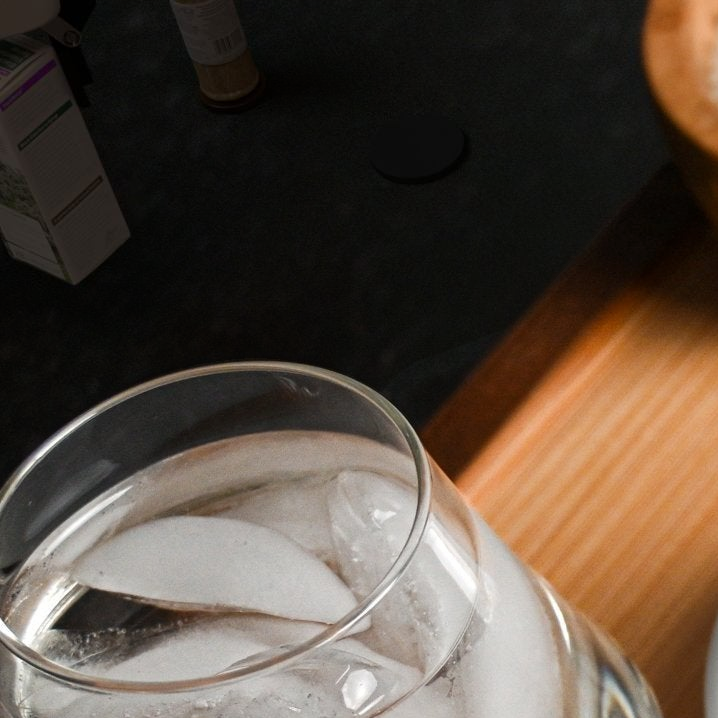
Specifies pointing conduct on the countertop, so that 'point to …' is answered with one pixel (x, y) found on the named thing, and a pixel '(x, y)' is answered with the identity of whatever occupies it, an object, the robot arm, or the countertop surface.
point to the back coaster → (239, 104)
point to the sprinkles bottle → (217, 47)
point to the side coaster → (417, 149)
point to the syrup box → (51, 169)
